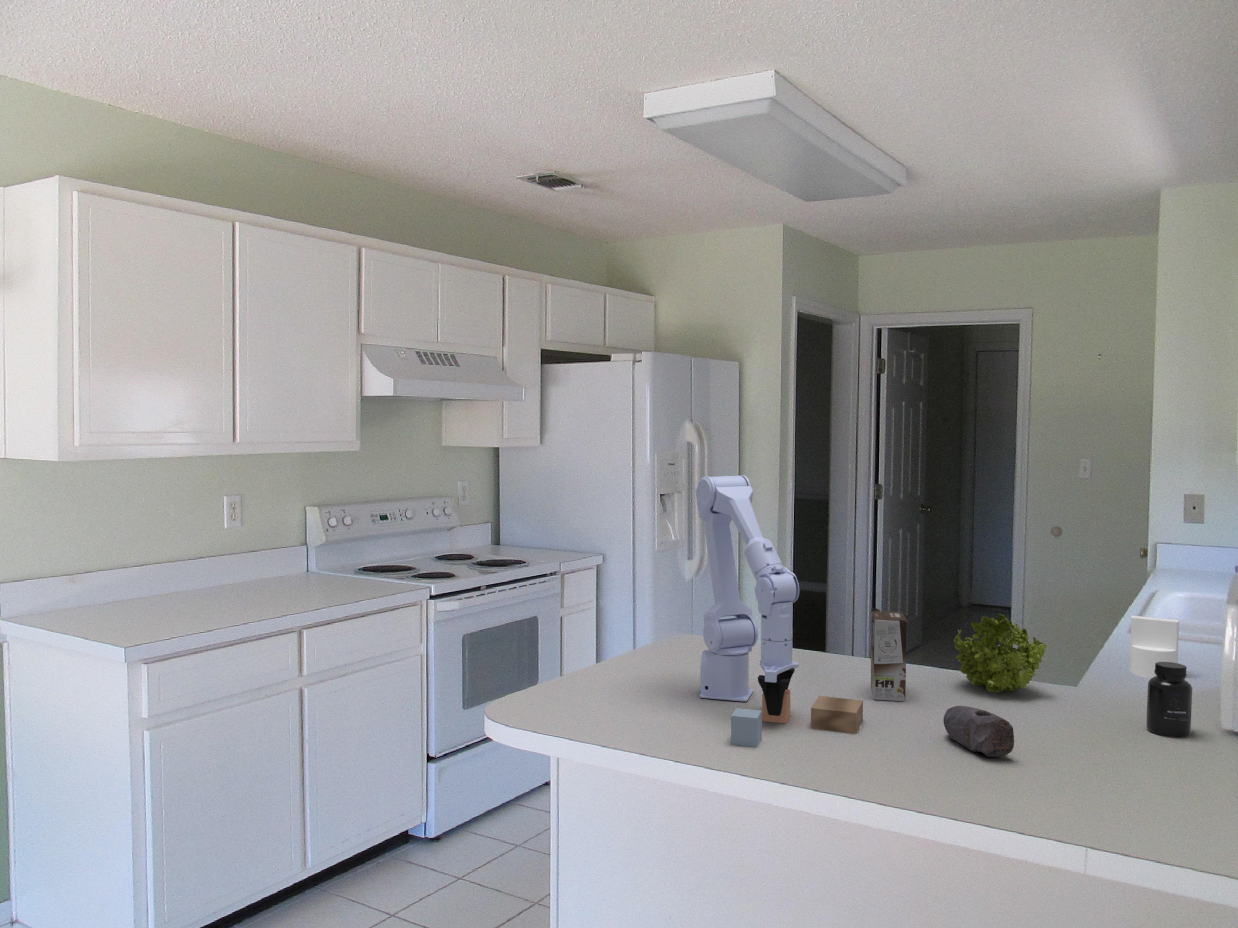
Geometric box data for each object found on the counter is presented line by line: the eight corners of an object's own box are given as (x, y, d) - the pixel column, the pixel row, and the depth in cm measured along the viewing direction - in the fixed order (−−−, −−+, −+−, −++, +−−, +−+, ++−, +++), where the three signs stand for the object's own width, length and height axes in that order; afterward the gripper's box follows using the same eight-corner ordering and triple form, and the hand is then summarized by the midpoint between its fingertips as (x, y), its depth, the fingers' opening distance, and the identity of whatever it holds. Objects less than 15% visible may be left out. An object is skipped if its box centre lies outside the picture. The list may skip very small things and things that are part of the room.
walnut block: (810, 729, 171) (810, 707, 171) (819, 716, 178) (819, 695, 178) (856, 735, 168) (856, 712, 168) (862, 721, 175) (863, 700, 175)
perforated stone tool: (933, 735, 167) (933, 696, 166) (958, 732, 168) (959, 693, 168) (990, 765, 152) (990, 722, 152) (1017, 761, 154) (1018, 719, 153)
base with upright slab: (1178, 671, 207) (1179, 617, 207) (1176, 681, 200) (1178, 624, 199) (1131, 666, 212) (1132, 612, 212) (1128, 675, 205) (1129, 620, 204)
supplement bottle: (1175, 740, 163) (1177, 671, 163) (1137, 729, 169) (1139, 662, 169) (1199, 734, 167) (1201, 666, 166) (1161, 723, 173) (1163, 657, 172)
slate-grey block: (730, 744, 163) (731, 715, 162) (736, 736, 167) (736, 708, 167) (757, 747, 161) (757, 718, 161) (761, 738, 165) (761, 710, 165)
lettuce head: (1069, 669, 192) (1048, 628, 183) (1017, 724, 191) (994, 686, 181) (998, 624, 207) (976, 584, 197) (949, 675, 205) (925, 637, 196)
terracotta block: (762, 720, 175) (762, 694, 175) (766, 713, 179) (766, 687, 179) (786, 723, 174) (787, 696, 173) (790, 715, 178) (790, 689, 178)
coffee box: (906, 701, 186) (907, 620, 186) (872, 700, 188) (873, 618, 187) (902, 688, 195) (903, 610, 194) (870, 687, 197) (870, 609, 196)
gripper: (793, 648, 168) (792, 724, 168) (803, 631, 181) (803, 701, 182) (753, 645, 170) (753, 720, 170) (766, 628, 183) (766, 698, 184)
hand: (776, 710), depth 176 cm, fingers closed on terracotta block, 4 cm apart
